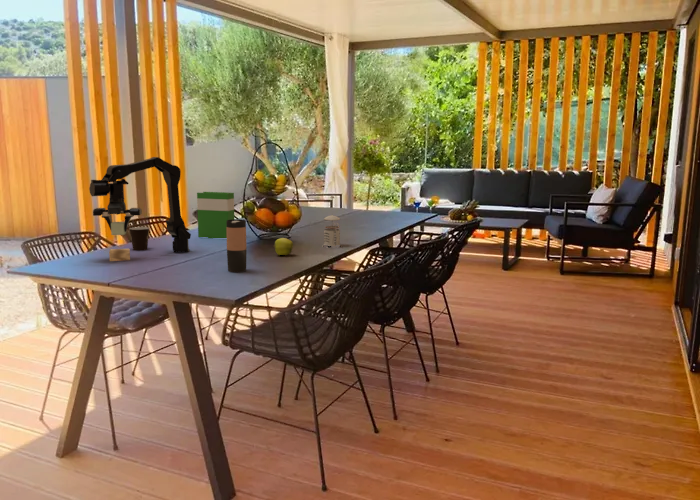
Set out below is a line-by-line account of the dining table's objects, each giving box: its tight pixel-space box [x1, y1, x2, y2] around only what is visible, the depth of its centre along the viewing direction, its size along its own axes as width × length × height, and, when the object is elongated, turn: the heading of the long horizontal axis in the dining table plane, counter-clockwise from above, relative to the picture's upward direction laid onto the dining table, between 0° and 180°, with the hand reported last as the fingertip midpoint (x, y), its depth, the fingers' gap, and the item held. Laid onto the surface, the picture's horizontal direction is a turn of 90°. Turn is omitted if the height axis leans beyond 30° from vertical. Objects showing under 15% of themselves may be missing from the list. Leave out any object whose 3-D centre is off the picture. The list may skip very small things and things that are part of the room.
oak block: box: [108, 248, 131, 262], centre depth 256 cm, size 8×8×4 cm
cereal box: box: [196, 191, 235, 239], centre depth 317 cm, size 18×7×24 cm, turn 75°
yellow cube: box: [110, 221, 127, 236], centre depth 254 cm, size 5×5×5 cm
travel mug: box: [226, 218, 248, 273], centre depth 234 cm, size 8×8×20 cm
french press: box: [323, 195, 341, 246], centre depth 294 cm, size 10×12×25 cm
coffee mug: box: [129, 226, 150, 252], centre depth 281 cm, size 12×9×10 cm
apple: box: [273, 237, 294, 256], centre depth 269 cm, size 8×9×8 cm
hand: (118, 231), depth 255 cm, fingers closed on yellow cube, 5 cm apart
